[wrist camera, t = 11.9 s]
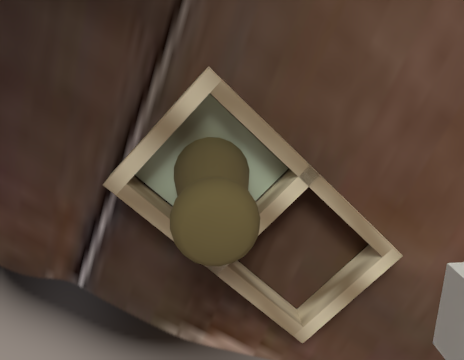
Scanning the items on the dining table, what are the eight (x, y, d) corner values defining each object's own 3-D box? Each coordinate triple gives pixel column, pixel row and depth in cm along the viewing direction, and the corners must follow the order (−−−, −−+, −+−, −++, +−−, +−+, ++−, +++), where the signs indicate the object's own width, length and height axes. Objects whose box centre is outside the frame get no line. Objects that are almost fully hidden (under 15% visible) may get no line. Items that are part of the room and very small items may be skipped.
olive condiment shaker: (193, 220, 33) (188, 299, 23) (160, 155, 31) (138, 209, 21) (260, 191, 33) (288, 258, 22) (231, 124, 31) (246, 162, 20)
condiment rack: (296, 324, 37) (302, 343, 35) (110, 174, 32) (102, 184, 29) (389, 242, 35) (402, 256, 33) (208, 65, 30) (209, 67, 27)
